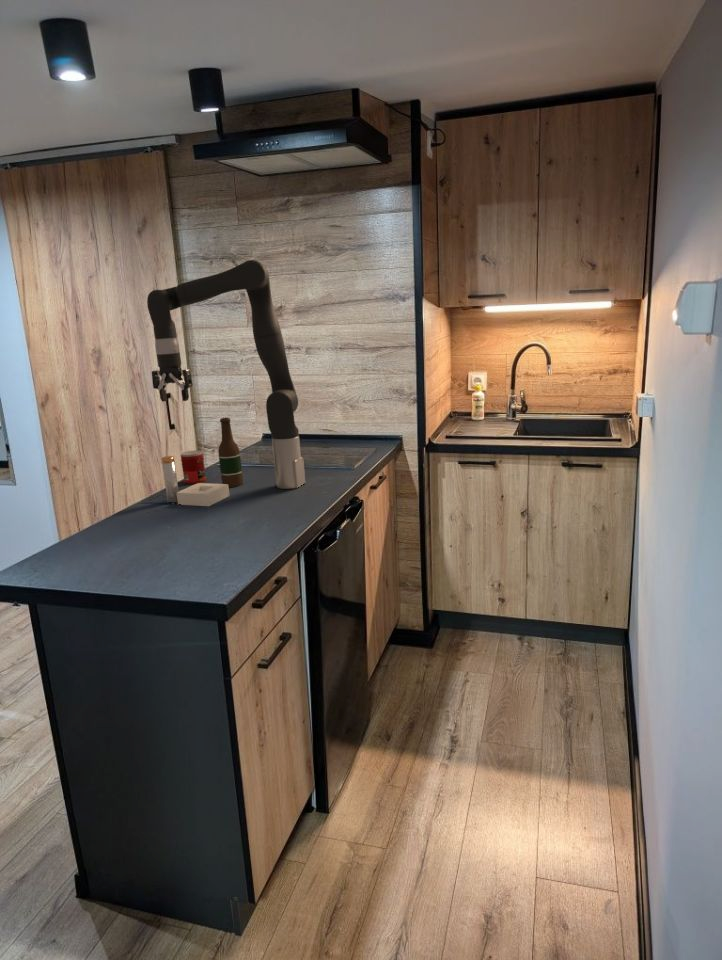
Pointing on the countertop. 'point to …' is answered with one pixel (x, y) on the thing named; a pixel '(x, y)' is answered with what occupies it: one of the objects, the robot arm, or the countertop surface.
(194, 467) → the canned food
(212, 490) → the socket block
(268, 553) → the countertop surface
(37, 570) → the countertop surface
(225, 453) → the beer bottle
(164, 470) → the plug
